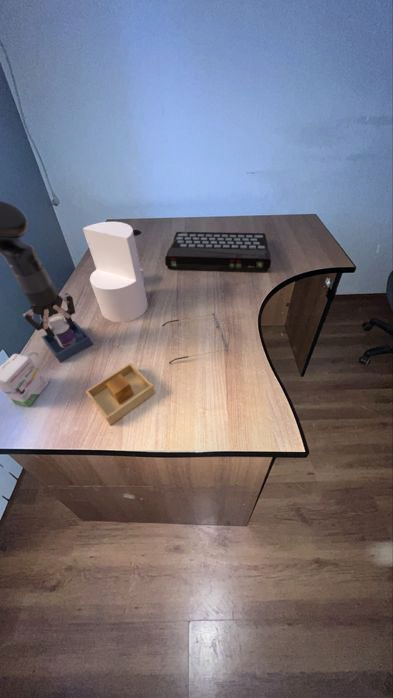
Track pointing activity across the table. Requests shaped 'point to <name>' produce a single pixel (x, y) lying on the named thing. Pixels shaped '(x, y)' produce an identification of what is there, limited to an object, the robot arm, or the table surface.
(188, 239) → the computer keyboard
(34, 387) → the ink box
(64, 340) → the pill bottle
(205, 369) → the table surface
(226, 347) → the eyeglasses
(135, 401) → the sand bin
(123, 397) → the ochre block
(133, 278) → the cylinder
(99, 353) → the table surface
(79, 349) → the slate bin
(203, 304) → the table surface
